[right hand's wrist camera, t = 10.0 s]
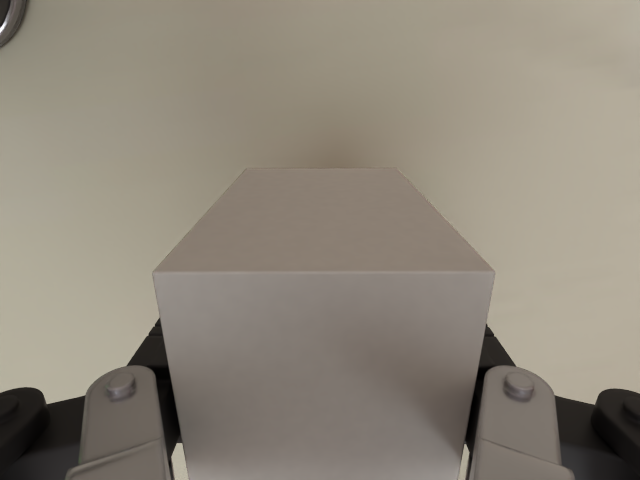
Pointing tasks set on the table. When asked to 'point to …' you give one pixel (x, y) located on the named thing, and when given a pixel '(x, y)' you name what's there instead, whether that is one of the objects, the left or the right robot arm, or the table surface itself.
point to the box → (323, 330)
